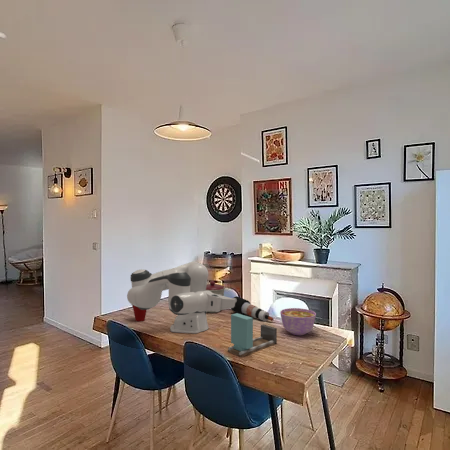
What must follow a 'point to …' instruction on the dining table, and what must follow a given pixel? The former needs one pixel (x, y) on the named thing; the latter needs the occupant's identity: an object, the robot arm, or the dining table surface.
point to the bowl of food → (298, 320)
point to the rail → (259, 341)
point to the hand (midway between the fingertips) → (228, 298)
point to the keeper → (241, 332)
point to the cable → (250, 309)
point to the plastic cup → (139, 314)
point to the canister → (215, 290)
